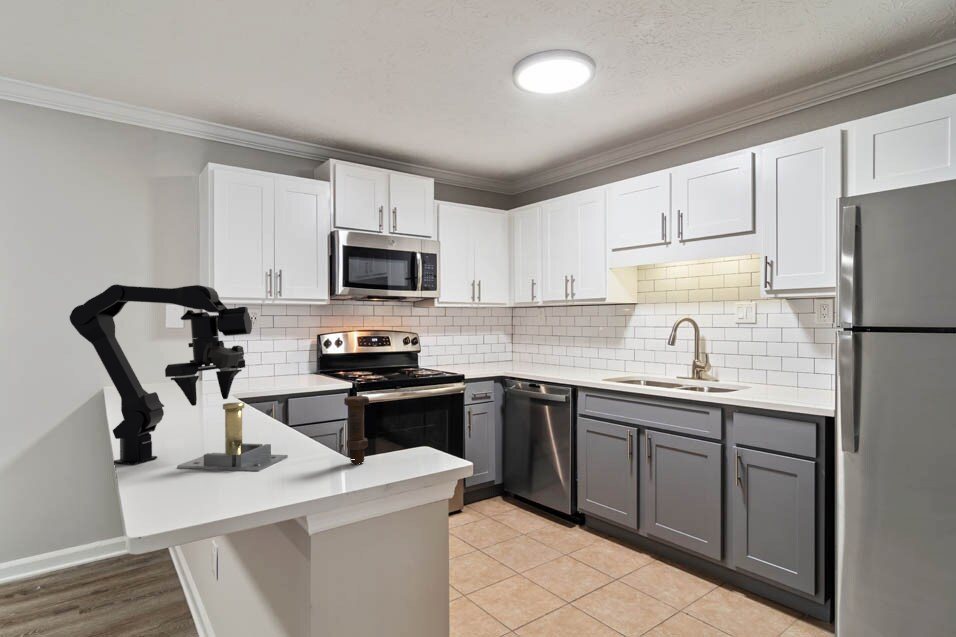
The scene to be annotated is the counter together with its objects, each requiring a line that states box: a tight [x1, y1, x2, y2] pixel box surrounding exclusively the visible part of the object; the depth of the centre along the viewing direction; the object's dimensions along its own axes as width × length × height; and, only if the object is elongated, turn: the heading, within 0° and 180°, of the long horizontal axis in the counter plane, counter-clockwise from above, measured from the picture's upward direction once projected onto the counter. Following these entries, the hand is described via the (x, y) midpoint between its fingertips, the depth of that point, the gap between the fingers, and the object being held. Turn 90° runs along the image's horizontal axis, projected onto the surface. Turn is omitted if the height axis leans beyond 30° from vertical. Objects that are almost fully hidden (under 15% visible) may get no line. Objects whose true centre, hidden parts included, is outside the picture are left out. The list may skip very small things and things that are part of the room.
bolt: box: [343, 395, 370, 465], centre depth 120 cm, size 6×5×15 cm
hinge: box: [176, 442, 289, 472], centre depth 122 cm, size 20×12×3 cm, turn 80°
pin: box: [222, 402, 245, 456], centre depth 123 cm, size 5×5×13 cm
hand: (210, 402), depth 127 cm, fingers open, 9 cm apart
